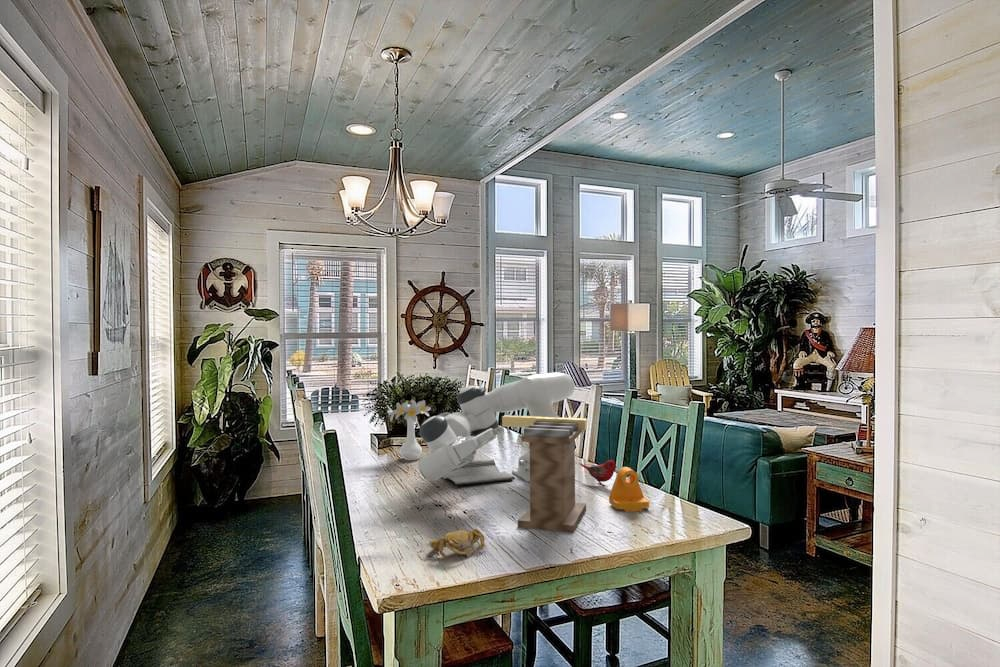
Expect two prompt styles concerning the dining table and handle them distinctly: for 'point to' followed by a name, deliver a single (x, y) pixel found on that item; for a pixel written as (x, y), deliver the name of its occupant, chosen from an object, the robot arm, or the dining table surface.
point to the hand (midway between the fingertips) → (497, 430)
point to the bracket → (627, 492)
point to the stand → (552, 478)
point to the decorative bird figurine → (601, 471)
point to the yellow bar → (529, 420)
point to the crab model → (458, 542)
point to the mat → (478, 473)
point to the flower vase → (410, 426)
